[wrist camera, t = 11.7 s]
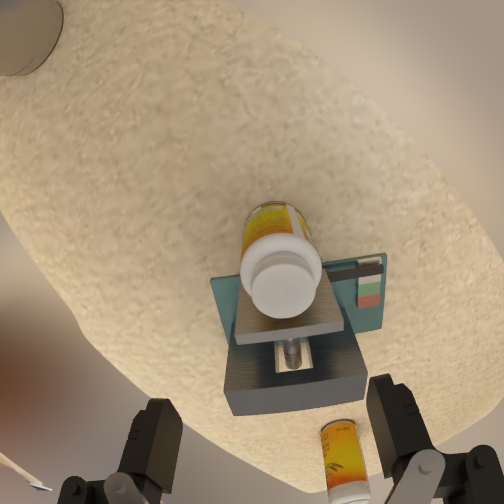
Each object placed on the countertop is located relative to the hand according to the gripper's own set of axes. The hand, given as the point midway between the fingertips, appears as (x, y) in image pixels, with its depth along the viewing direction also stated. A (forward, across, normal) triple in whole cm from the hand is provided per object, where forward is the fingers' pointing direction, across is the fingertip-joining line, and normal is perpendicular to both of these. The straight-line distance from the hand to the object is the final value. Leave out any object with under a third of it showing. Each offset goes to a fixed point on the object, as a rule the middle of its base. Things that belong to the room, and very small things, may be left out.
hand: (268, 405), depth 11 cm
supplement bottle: (+18, -1, 0) cm, 19 cm away
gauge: (+18, -3, +9) cm, 21 cm away
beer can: (+18, -7, +36) cm, 41 cm away
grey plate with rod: (+17, -4, +9) cm, 20 cm away
